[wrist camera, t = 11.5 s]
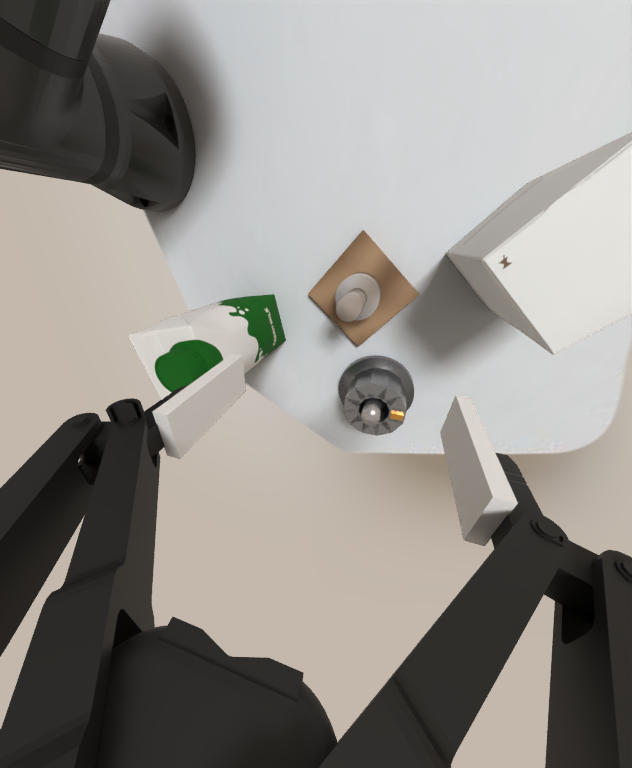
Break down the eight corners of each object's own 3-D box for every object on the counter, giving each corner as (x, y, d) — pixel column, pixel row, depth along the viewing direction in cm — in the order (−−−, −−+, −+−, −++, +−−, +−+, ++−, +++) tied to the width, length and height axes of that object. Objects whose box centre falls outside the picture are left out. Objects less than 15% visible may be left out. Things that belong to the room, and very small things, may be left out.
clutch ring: (347, 408, 41) (341, 429, 37) (353, 364, 37) (346, 380, 33) (398, 419, 40) (398, 442, 35) (410, 373, 36) (411, 392, 31)
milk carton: (292, 344, 40) (213, 418, 23) (244, 350, 43) (143, 418, 26) (278, 286, 36) (172, 323, 20) (226, 296, 40) (96, 336, 23)
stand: (310, 292, 36) (281, 308, 27) (364, 230, 30) (349, 225, 22) (359, 344, 37) (346, 373, 29) (418, 293, 32) (424, 311, 23)
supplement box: (489, 312, 31) (550, 361, 18) (444, 253, 29) (476, 260, 17) (581, 251, 26) (750, 260, 13) (532, 177, 24) (671, 108, 12)
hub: (326, 383, 42) (312, 410, 35) (379, 340, 36) (374, 362, 29) (372, 428, 43) (367, 462, 37) (429, 394, 37) (435, 426, 31)
